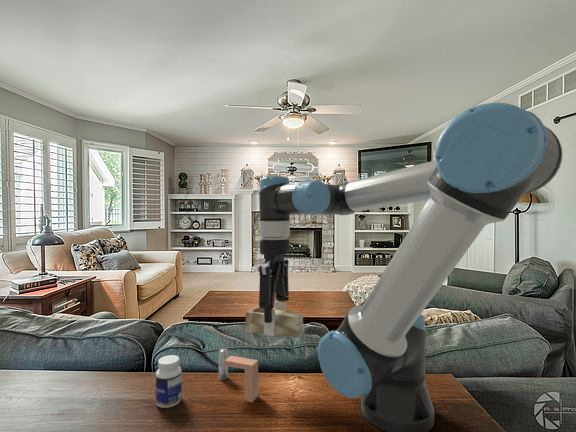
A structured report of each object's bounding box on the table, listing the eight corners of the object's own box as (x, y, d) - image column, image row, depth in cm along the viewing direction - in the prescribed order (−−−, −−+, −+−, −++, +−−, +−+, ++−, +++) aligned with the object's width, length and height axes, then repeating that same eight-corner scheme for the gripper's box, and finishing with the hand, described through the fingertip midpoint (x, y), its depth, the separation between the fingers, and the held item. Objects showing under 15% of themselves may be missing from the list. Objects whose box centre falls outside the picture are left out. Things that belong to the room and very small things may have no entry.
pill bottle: (151, 402, 76) (151, 359, 76) (174, 392, 80) (174, 351, 80) (162, 412, 72) (162, 367, 72) (186, 401, 76) (186, 358, 76)
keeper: (258, 395, 78) (258, 360, 78) (252, 402, 75) (252, 365, 75) (230, 390, 81) (230, 355, 81) (224, 396, 78) (224, 360, 78)
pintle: (229, 376, 87) (229, 349, 87) (224, 381, 85) (224, 352, 85) (221, 375, 88) (221, 347, 88) (217, 379, 86) (217, 351, 86)
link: (304, 331, 82) (304, 311, 82) (296, 339, 76) (296, 318, 76) (256, 324, 87) (256, 305, 87) (245, 332, 81) (245, 312, 81)
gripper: (275, 236, 92) (276, 317, 92) (243, 240, 74) (243, 342, 74) (300, 236, 89) (301, 320, 89) (273, 241, 71) (273, 346, 71)
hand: (275, 330), depth 81 cm, fingers closed on link, 6 cm apart
